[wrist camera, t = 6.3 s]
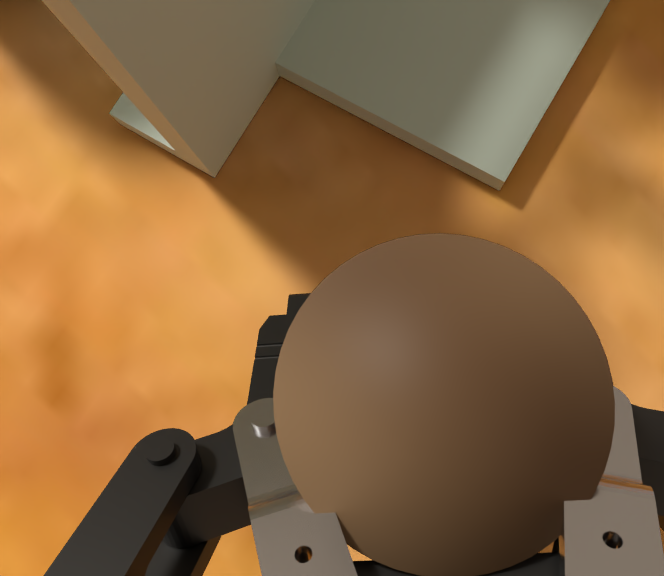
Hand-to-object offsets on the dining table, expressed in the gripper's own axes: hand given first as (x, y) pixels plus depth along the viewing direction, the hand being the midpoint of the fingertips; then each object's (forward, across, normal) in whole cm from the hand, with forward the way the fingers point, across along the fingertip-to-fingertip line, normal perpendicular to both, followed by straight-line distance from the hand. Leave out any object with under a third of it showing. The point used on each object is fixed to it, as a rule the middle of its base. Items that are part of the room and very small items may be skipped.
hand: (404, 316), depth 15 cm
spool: (+2, 0, +4) cm, 5 cm away
